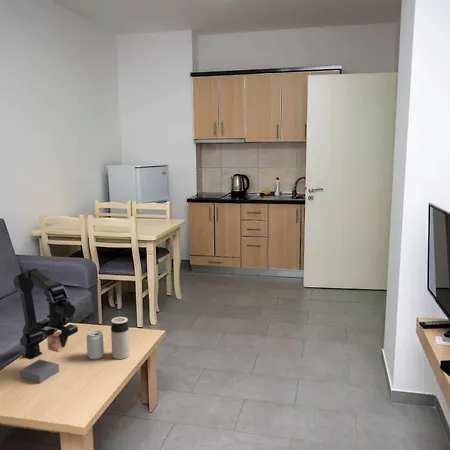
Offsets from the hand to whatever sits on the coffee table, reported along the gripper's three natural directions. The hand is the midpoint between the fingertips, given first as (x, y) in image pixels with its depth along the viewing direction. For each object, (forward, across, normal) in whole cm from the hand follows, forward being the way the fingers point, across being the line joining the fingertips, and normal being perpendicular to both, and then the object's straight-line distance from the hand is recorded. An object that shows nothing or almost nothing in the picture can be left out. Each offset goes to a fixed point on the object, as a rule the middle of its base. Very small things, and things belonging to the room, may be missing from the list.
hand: (58, 345), depth 202 cm
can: (+12, -6, -16) cm, 21 cm away
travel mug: (+12, -17, -22) cm, 30 cm away
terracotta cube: (+1, 0, 0) cm, 1 cm away
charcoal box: (+12, +4, +7) cm, 14 cm away
